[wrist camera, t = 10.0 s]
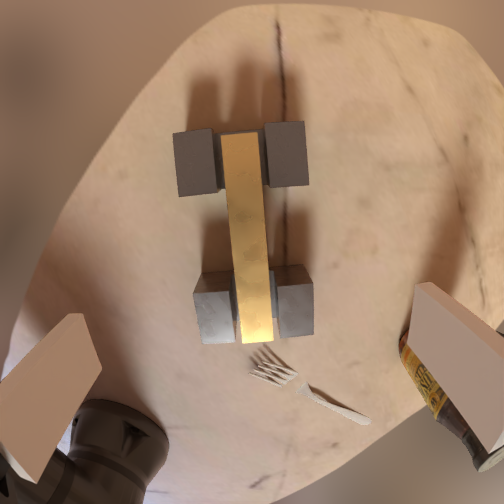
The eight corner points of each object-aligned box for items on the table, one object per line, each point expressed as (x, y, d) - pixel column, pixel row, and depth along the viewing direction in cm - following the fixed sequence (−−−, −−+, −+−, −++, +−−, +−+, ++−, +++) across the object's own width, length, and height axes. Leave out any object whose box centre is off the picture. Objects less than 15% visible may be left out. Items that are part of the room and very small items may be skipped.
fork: (371, 432, 38) (374, 440, 36) (246, 366, 34) (246, 376, 32) (387, 420, 37) (390, 428, 36) (264, 349, 33) (264, 358, 31)
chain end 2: (208, 318, 31) (202, 344, 26) (201, 273, 30) (192, 293, 25) (304, 310, 31) (313, 334, 26) (303, 264, 30) (313, 283, 25)
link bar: (243, 310, 30) (242, 343, 24) (226, 142, 26) (220, 135, 20) (268, 308, 30) (273, 340, 24) (255, 139, 26) (257, 132, 20)
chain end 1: (190, 191, 28) (178, 197, 23) (185, 138, 26) (172, 133, 22) (298, 181, 28) (309, 185, 23) (294, 128, 26) (304, 121, 21)
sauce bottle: (401, 321, 32) (493, 443, 13) (442, 316, 32) (538, 418, 13) (390, 365, 34) (457, 488, 15) (429, 359, 34) (503, 465, 15)
